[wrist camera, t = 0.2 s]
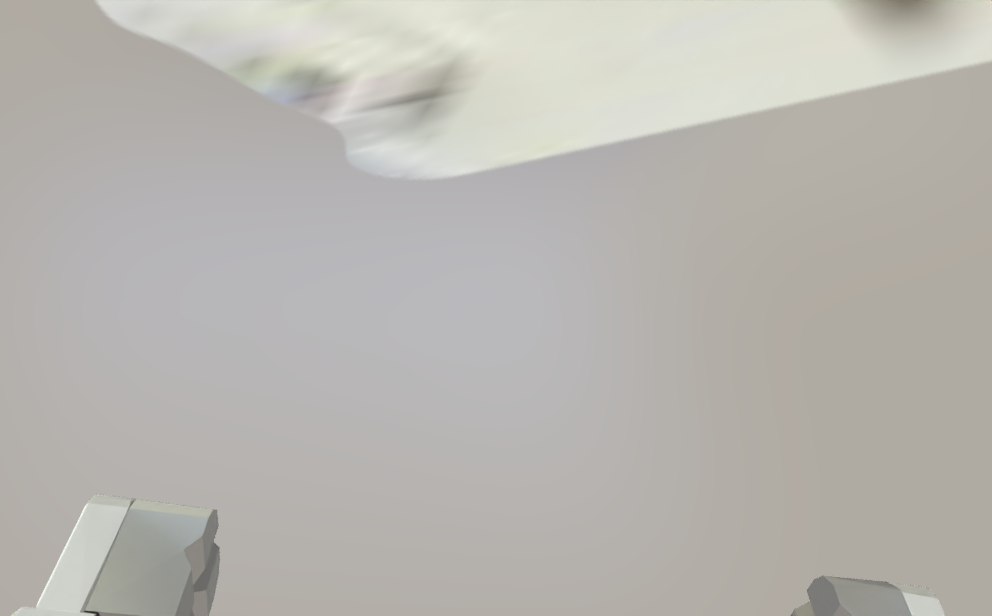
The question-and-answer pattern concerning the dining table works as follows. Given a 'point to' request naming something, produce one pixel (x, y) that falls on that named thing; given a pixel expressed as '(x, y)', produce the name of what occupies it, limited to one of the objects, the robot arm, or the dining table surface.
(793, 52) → the dining table surface
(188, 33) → the dining table surface
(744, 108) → the dining table surface
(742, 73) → the dining table surface
